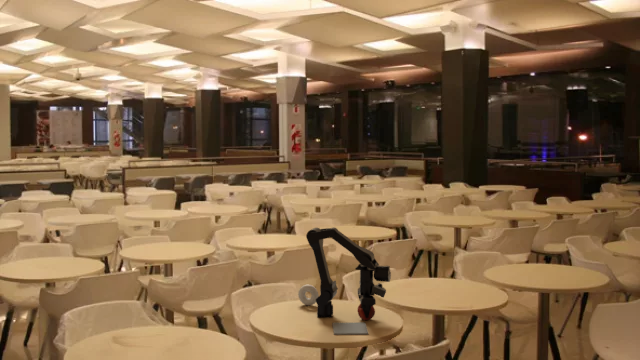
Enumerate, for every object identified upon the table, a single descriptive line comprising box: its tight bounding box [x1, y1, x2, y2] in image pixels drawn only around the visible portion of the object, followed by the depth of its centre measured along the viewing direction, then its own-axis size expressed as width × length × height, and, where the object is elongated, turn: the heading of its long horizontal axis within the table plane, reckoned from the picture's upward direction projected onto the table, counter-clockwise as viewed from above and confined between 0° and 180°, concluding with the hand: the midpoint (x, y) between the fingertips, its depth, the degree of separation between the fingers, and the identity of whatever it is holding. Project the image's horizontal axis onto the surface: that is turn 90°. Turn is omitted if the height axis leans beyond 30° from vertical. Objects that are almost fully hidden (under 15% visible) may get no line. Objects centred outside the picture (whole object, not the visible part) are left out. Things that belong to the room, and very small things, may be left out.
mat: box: [332, 321, 369, 336], centre depth 285 cm, size 14×14×1 cm
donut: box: [297, 283, 320, 306], centre depth 319 cm, size 10×4×10 cm, turn 70°
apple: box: [357, 303, 376, 321], centre depth 298 cm, size 7×8×8 cm
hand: (366, 314), depth 298 cm, fingers closed on apple, 8 cm apart
